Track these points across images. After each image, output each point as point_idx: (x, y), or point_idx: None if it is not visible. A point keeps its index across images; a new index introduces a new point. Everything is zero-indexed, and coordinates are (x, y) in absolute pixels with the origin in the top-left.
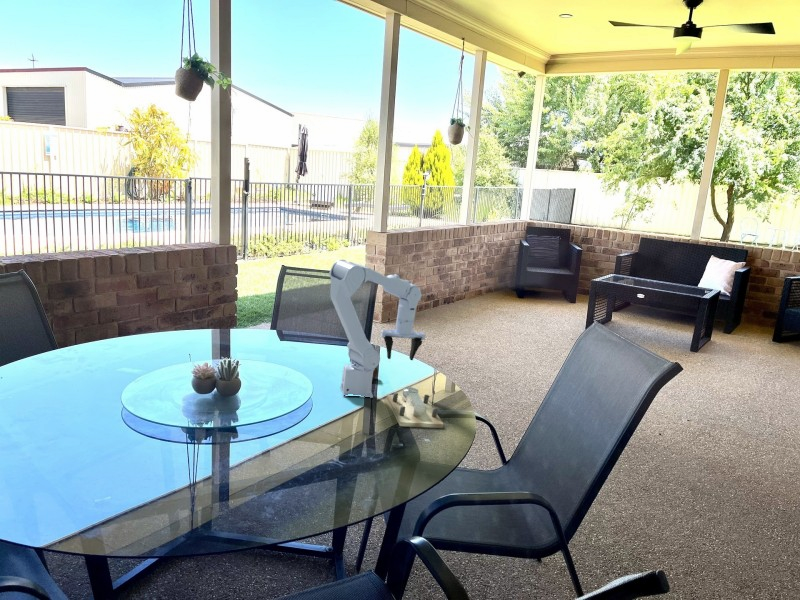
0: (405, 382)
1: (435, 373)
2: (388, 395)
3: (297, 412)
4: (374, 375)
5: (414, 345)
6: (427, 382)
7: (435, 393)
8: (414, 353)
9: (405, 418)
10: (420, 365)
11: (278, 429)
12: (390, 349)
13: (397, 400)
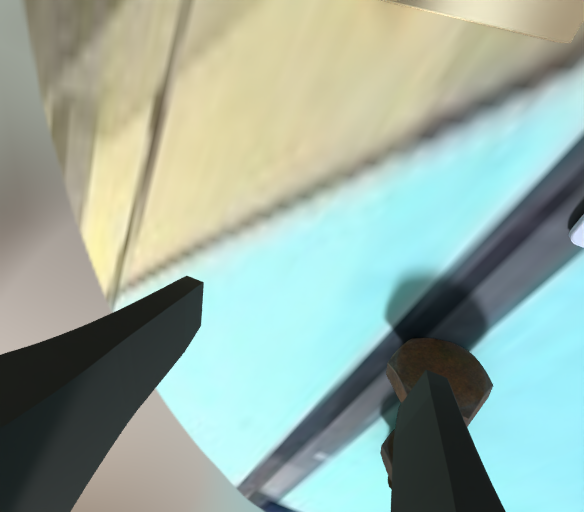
0: (264, 261)
1: (110, 301)
2: (572, 17)
3: None
4: (413, 350)
5: (18, 423)
6: (159, 235)
7: (151, 94)
8: (122, 316)
9: None
10: None
11: None
12: (472, 509)
13: None
